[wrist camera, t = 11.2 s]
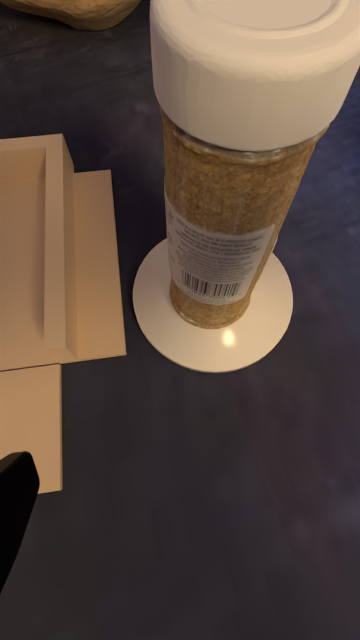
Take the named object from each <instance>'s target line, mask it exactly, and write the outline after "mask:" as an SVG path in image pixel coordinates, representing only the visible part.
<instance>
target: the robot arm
mask: <svg viewBox="0 0 360 640" xmlns="http://www.w3.org/2000/svg"><path fill="white" fill-rule="evenodd" d="M39 487H40V479H39V475H38V472H37V469H36V466H35V463H34V460H33V457H32V455H31V453H30V452H28V451H22V452H13V453H10V454H9V455H7V456H5V457H4V458H2V459H0V594H1V591H2V589H3V587H4V584H5V582H6V580H7V577H8V575H9V573H10V571H11V568H12V566H13V563H14V561H15V558H16V556H17V553H18V551H19V548H20V545H21V542H22V539H23V536H24V533H25V530H26V527H27V524H28V521H29V518H30V515H31V512H32V509H33V506H34V503H35V500H36V497H37V494H38V491H39Z"/></svg>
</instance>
